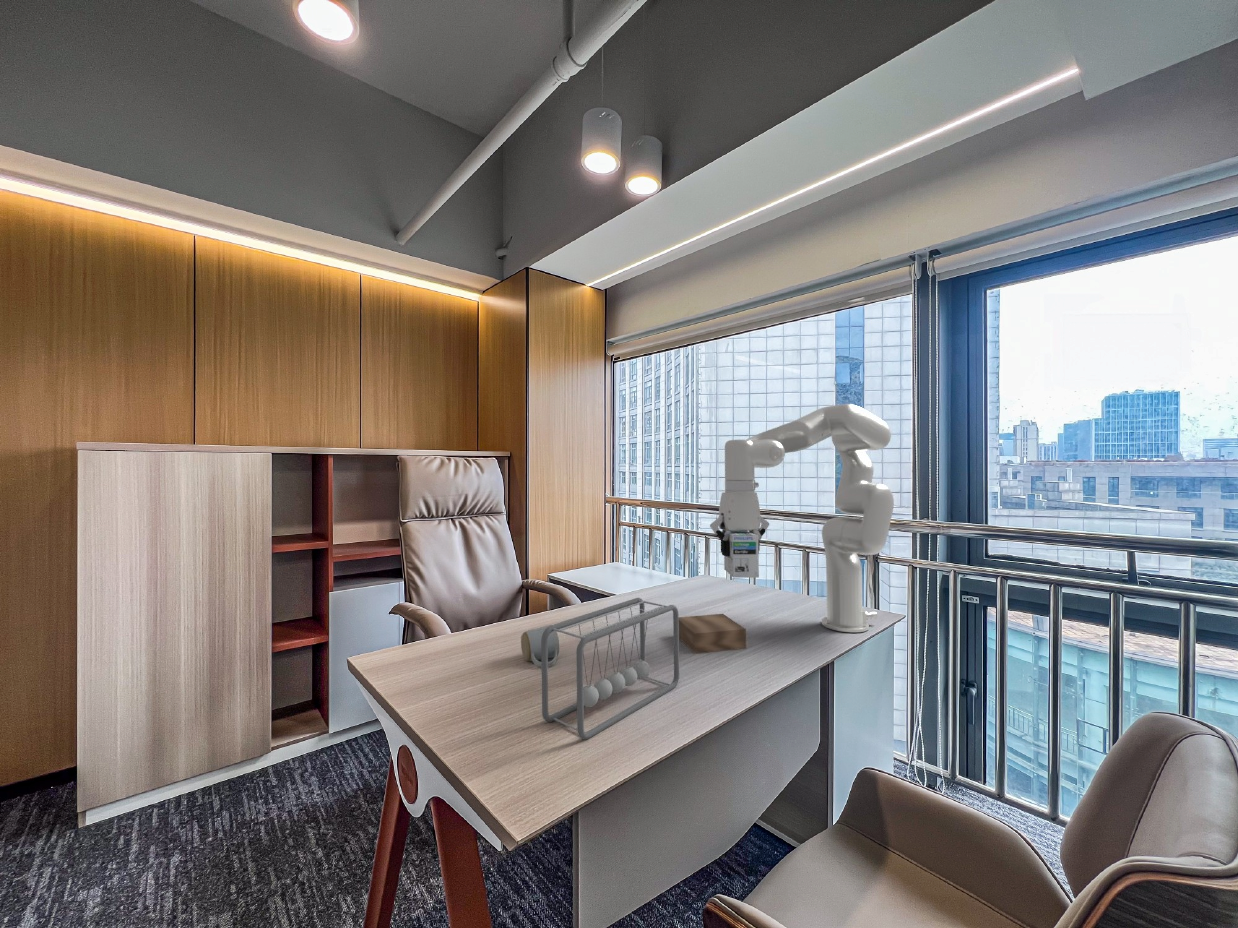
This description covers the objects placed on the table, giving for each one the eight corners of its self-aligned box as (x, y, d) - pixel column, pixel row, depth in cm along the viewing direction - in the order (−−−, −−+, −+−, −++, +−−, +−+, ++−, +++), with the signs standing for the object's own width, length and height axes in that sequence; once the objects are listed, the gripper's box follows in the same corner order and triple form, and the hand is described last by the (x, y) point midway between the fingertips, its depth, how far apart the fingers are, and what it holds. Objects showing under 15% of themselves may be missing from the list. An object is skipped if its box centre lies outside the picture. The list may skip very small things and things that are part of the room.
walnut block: (723, 631, 142) (722, 613, 142) (746, 648, 128) (745, 628, 128) (676, 635, 139) (676, 617, 139) (695, 653, 125) (694, 633, 125)
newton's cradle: (642, 672, 114) (641, 595, 114) (680, 685, 107) (679, 603, 107) (540, 724, 91) (539, 627, 91) (580, 744, 84) (579, 640, 84)
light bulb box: (759, 578, 123) (759, 534, 123) (732, 578, 123) (732, 535, 123) (747, 569, 134) (747, 529, 134) (723, 569, 134) (722, 529, 134)
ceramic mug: (519, 656, 125) (519, 625, 125) (550, 650, 128) (550, 620, 128) (532, 672, 115) (531, 639, 115) (565, 665, 119) (564, 633, 119)
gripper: (761, 486, 135) (762, 551, 135) (702, 487, 130) (703, 554, 130) (777, 487, 127) (778, 555, 127) (715, 488, 123) (715, 559, 123)
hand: (740, 554), depth 129 cm, fingers closed on light bulb box, 7 cm apart
